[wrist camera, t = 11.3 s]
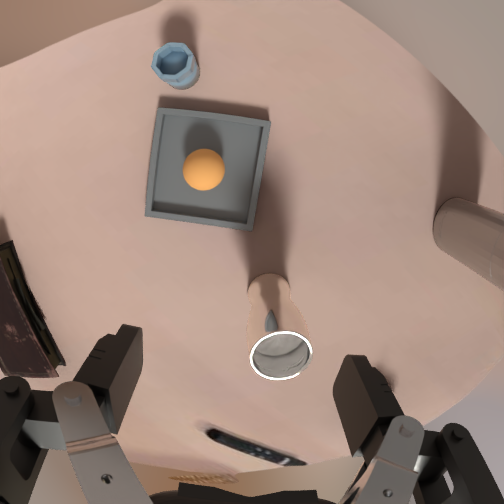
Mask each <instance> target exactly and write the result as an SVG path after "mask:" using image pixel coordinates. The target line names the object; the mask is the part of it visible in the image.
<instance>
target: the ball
mask: <svg viewBox="0 0 504 504" xmlns="http://www.w3.org/2000/svg"><path fill="white" fill-rule="evenodd" d="M224 173H225V165H224V162H223V160H222V158H221V157H220V155H219V154H218V153H216V152H215V151H213V150H210V149H198V150H196V151H194V152H192V153H191V154H189V155H188V157H187V158H186V159H185V161H184V164H183V176H184V178H185V180H186V182H187V183H188V184H189V185H190V186H191V187H193V188H194V189H197V190H203V191H204V190H210V189H212V188H214V187H216V186H217V185H218V184H219V183H220V182H221V181H222V179H223V177H224Z"/></svg>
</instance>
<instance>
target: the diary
mask: <svg viewBox="0 0 504 504" xmlns="http://www.w3.org/2000/svg"><path fill="white" fill-rule="evenodd" d="M29 288H30V287H29ZM30 293H31V295H30ZM58 365H63V366H66V364H65V360H64V358H63V356H62V354H61V353H60V351H59V349H58V347H57V345H56V343H55V341H54V339H53V337H52V335H51V333H50V331H49V329H48V327H47V325H46V323H45V321H44V319H43V317H42V315H41V313H40V311H39V309H38V306H37V304H36V301H35V299H34V296H33V294H32V292H31V290H30V292H29V290H28V287H27V285H26V283H25V280H24V277H23V274H22V270H21V266H20V262H19V259H18V256H17V253H16V250H15V246H14V243H13V240H12V241H10V242H7V243H4V244H2V245H0V368H1V370H2V372H3V373H4V375H5V376H19V377H28V378H53V377H59V375H58V373H57V372H56V370H55V369H56V367H57V366H58Z"/></svg>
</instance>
